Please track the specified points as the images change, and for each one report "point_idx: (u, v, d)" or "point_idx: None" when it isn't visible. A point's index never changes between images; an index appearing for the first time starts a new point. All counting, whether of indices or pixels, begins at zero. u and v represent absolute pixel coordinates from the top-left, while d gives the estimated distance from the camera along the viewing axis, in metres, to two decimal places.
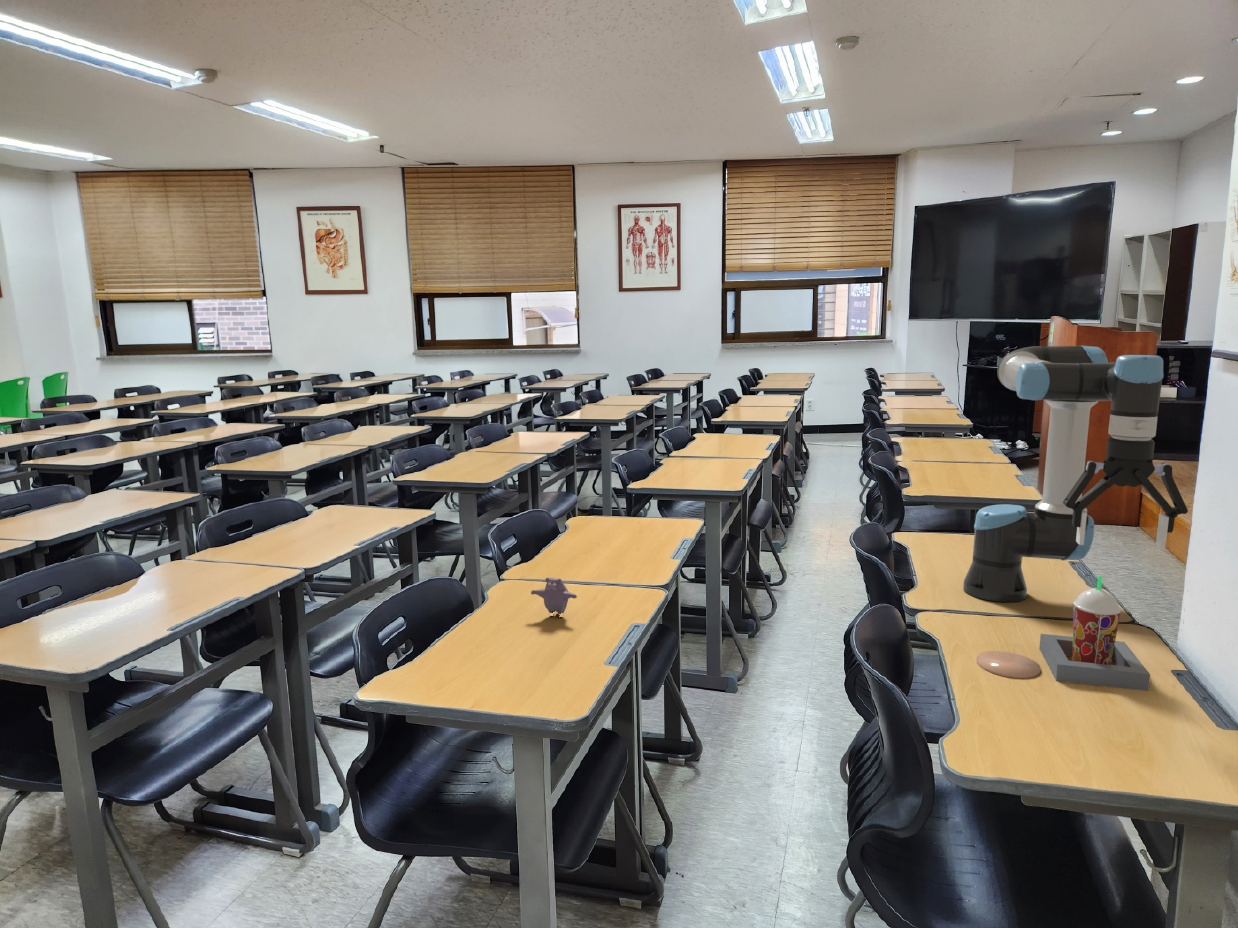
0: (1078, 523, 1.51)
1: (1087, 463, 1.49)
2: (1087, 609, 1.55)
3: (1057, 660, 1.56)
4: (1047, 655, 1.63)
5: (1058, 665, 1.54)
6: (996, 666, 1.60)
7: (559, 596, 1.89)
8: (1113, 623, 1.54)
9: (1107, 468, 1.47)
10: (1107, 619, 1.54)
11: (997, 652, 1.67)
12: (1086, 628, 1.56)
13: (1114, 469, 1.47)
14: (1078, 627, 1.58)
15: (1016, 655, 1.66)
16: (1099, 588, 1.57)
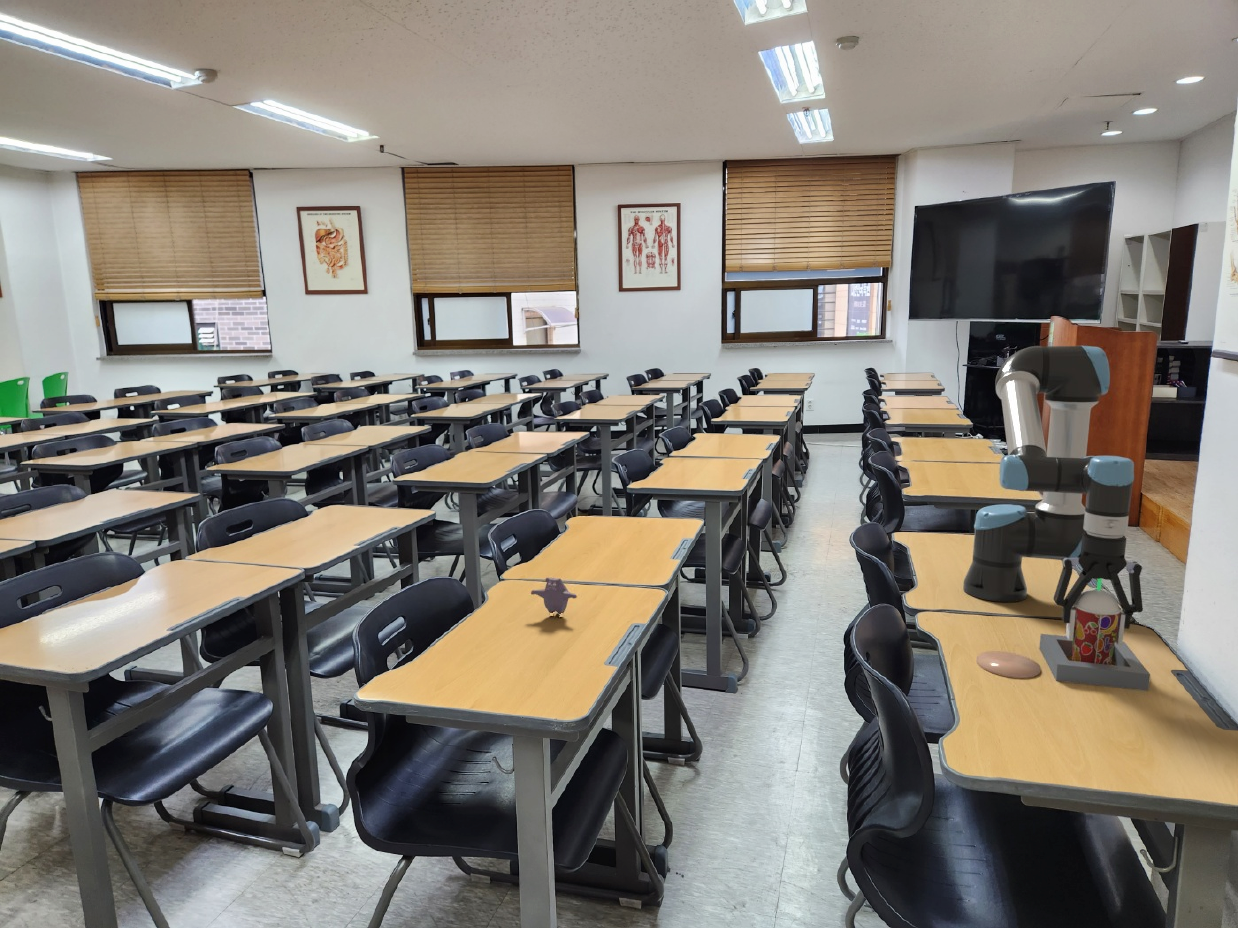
0: (1067, 619, 1.59)
1: (1063, 561, 1.58)
2: (1087, 609, 1.55)
3: (1057, 660, 1.56)
4: (1047, 655, 1.63)
5: (1058, 665, 1.54)
6: (996, 666, 1.60)
7: (559, 596, 1.89)
8: (1113, 623, 1.54)
9: (1082, 562, 1.56)
10: (1107, 619, 1.54)
11: (997, 652, 1.67)
12: (1086, 628, 1.56)
13: (1089, 562, 1.56)
14: (1078, 627, 1.58)
15: (1016, 655, 1.66)
16: (1099, 588, 1.57)
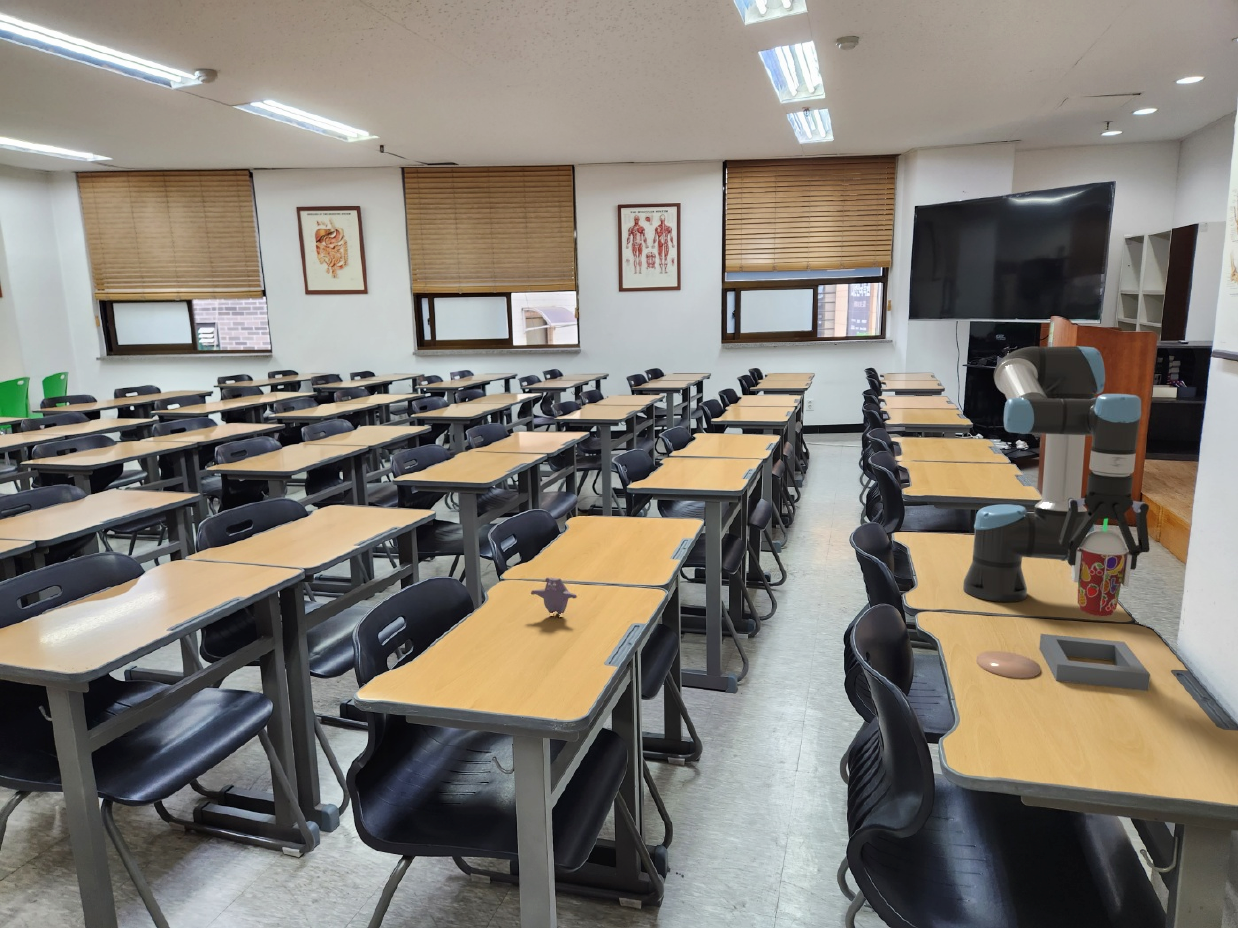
0: (1073, 561, 1.57)
1: (1069, 502, 1.56)
2: (1093, 550, 1.53)
3: (1057, 660, 1.56)
4: (1047, 655, 1.63)
5: (1058, 665, 1.54)
6: (996, 666, 1.60)
7: (559, 596, 1.89)
8: (1119, 563, 1.52)
9: (1088, 502, 1.54)
10: (1113, 559, 1.52)
11: (997, 652, 1.67)
12: (1092, 569, 1.54)
13: (1095, 502, 1.53)
14: (1084, 569, 1.56)
15: (1016, 655, 1.66)
16: (1105, 529, 1.55)
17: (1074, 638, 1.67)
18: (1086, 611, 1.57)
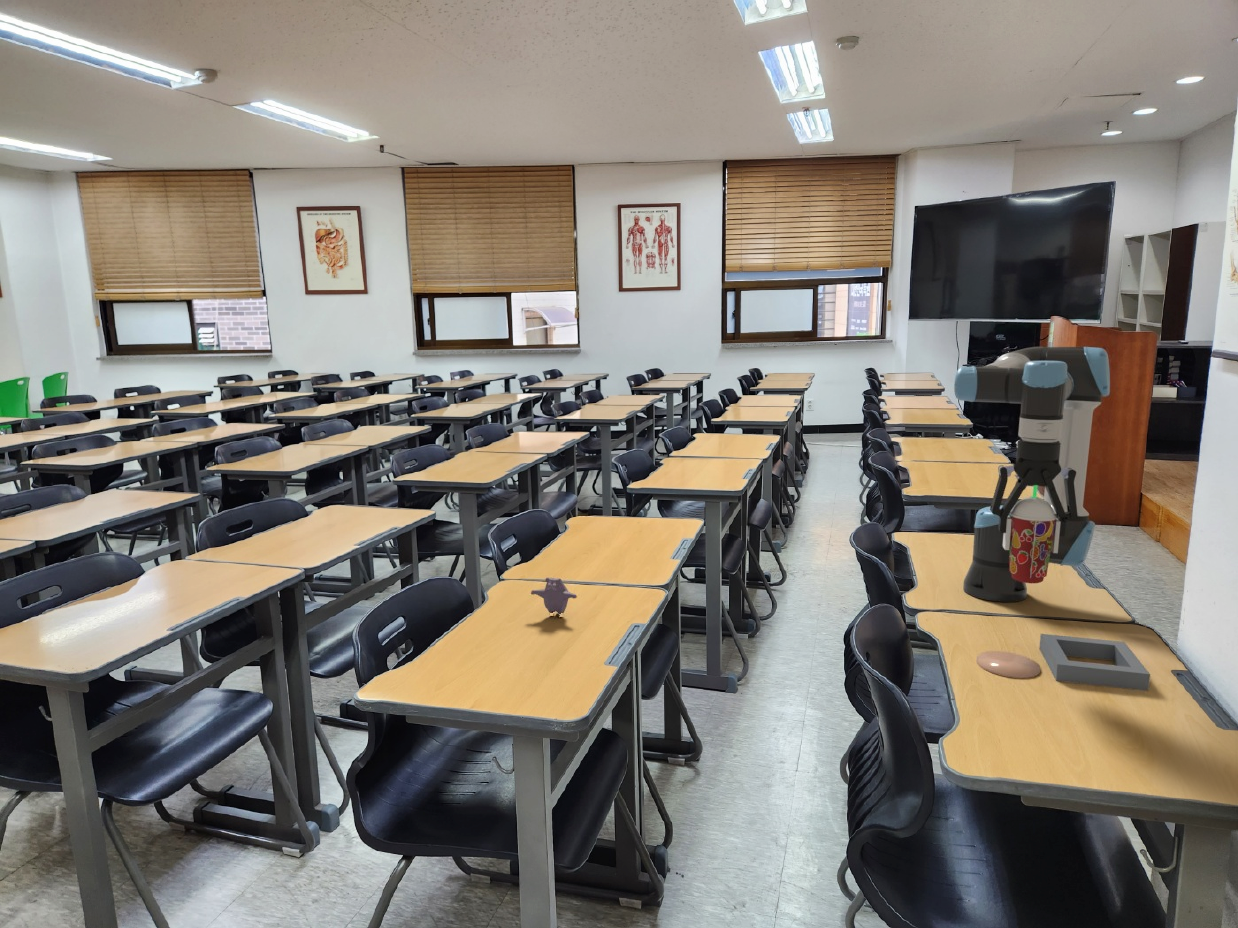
0: (1004, 529, 1.57)
1: (999, 469, 1.56)
2: (1022, 516, 1.53)
3: (1057, 660, 1.56)
4: (1047, 655, 1.63)
5: (1058, 665, 1.54)
6: (996, 666, 1.60)
7: (559, 596, 1.89)
8: (1048, 530, 1.52)
9: (1017, 469, 1.54)
10: (1042, 525, 1.52)
11: (997, 652, 1.67)
12: (1022, 536, 1.54)
13: (1024, 469, 1.54)
14: (1014, 536, 1.56)
15: (1016, 655, 1.66)
16: (1035, 496, 1.55)
17: (1074, 638, 1.67)
18: (1017, 579, 1.57)
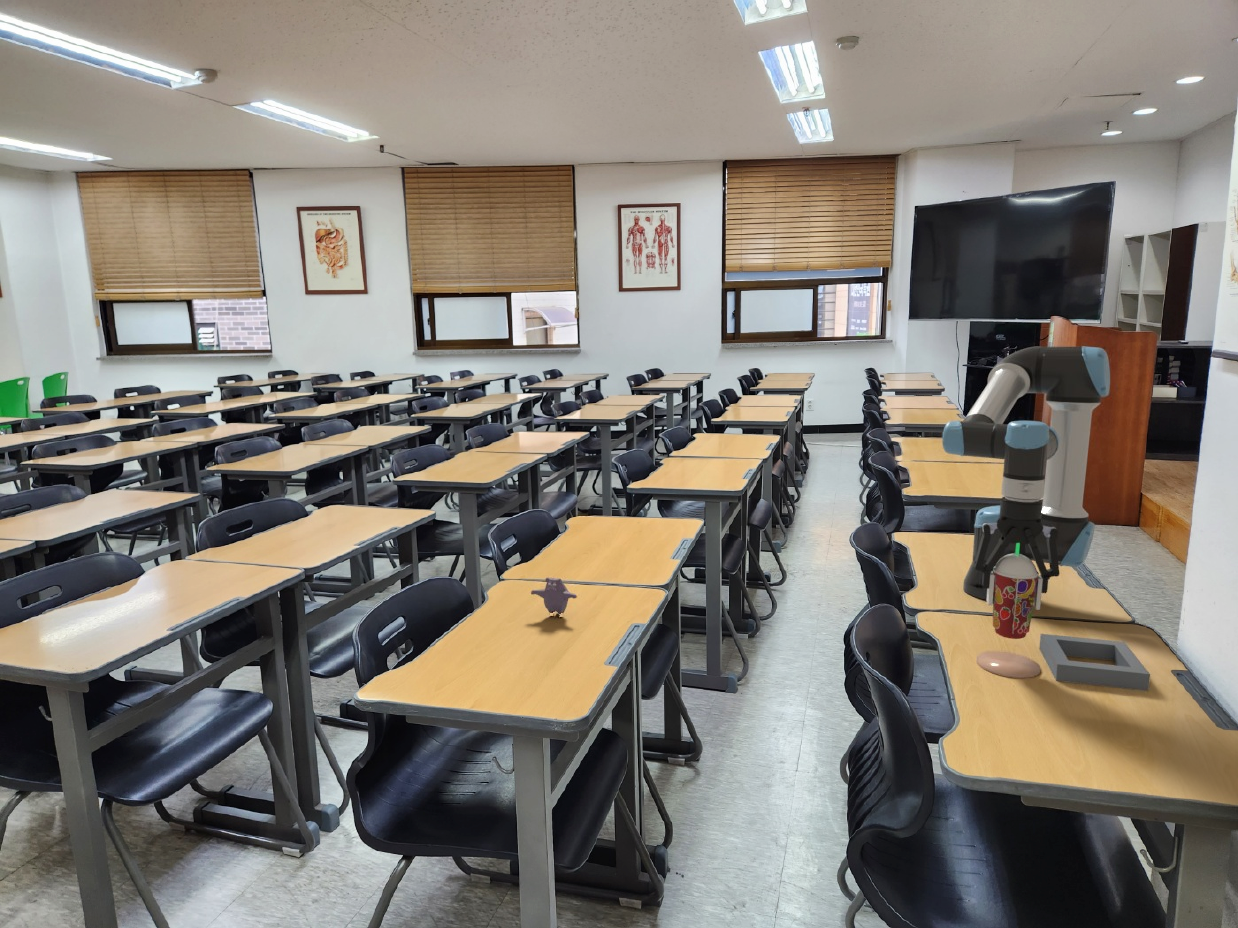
0: (987, 585, 1.60)
1: (982, 526, 1.59)
2: (1005, 573, 1.56)
3: (1057, 660, 1.56)
4: (1047, 655, 1.63)
5: (1058, 665, 1.54)
6: (996, 666, 1.60)
7: (559, 596, 1.89)
8: (1030, 587, 1.55)
9: (1000, 527, 1.57)
10: (1024, 583, 1.55)
11: (997, 652, 1.67)
12: (1004, 592, 1.57)
13: (1007, 526, 1.56)
14: (997, 592, 1.58)
15: (1016, 655, 1.66)
16: (1017, 553, 1.57)
17: (1074, 638, 1.67)
18: (1000, 634, 1.60)
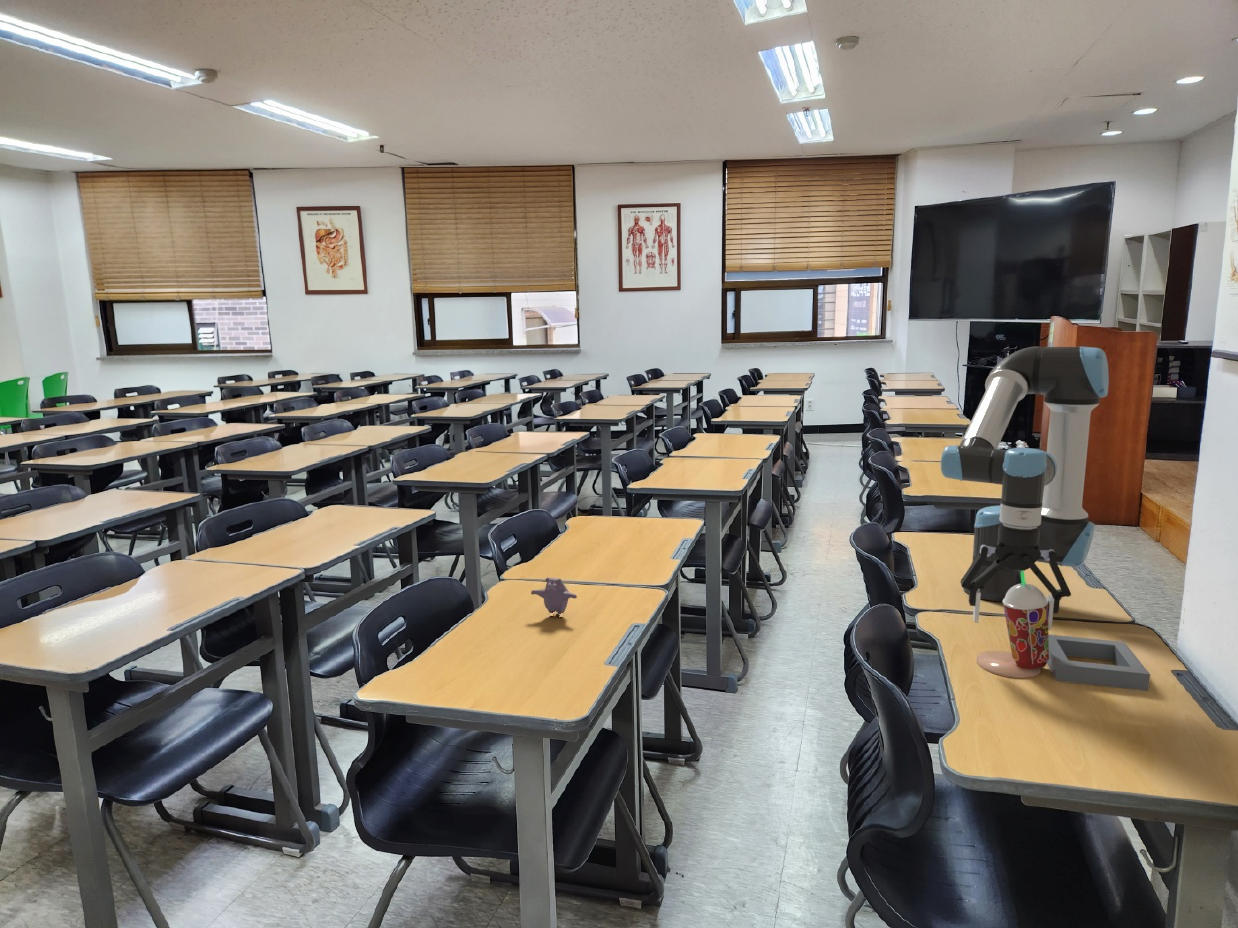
0: (973, 602, 1.61)
1: (981, 547, 1.59)
2: (1014, 606, 1.57)
3: (1057, 660, 1.56)
4: None
5: (1058, 665, 1.54)
6: (996, 666, 1.60)
7: (559, 596, 1.89)
8: (1042, 616, 1.55)
9: (998, 552, 1.58)
10: (1035, 613, 1.55)
11: (997, 652, 1.67)
12: (1017, 624, 1.57)
13: (1004, 554, 1.57)
14: (1010, 624, 1.59)
15: None
16: (1023, 583, 1.58)
17: (1074, 638, 1.67)
18: (1020, 665, 1.60)
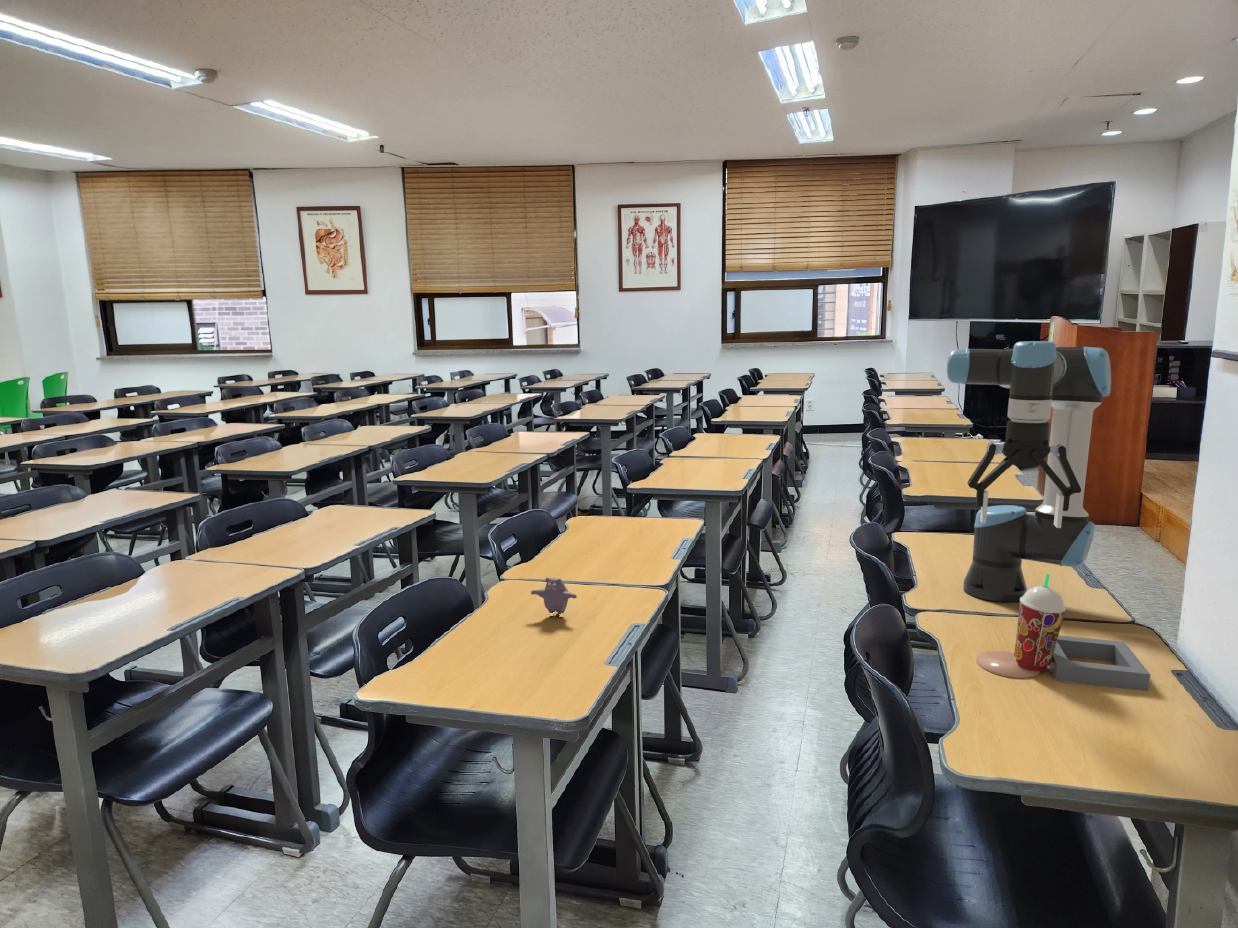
0: (981, 503, 1.57)
1: (988, 445, 1.56)
2: (1032, 606, 1.56)
3: (1057, 660, 1.56)
4: None
5: (1058, 665, 1.54)
6: (996, 666, 1.60)
7: (559, 596, 1.89)
8: (1056, 621, 1.55)
9: (1006, 449, 1.54)
10: (1051, 617, 1.54)
11: (997, 652, 1.67)
12: (1029, 624, 1.56)
13: (1012, 450, 1.54)
14: (1022, 623, 1.58)
15: None
16: (1046, 586, 1.57)
17: (1074, 638, 1.67)
18: (1021, 664, 1.59)
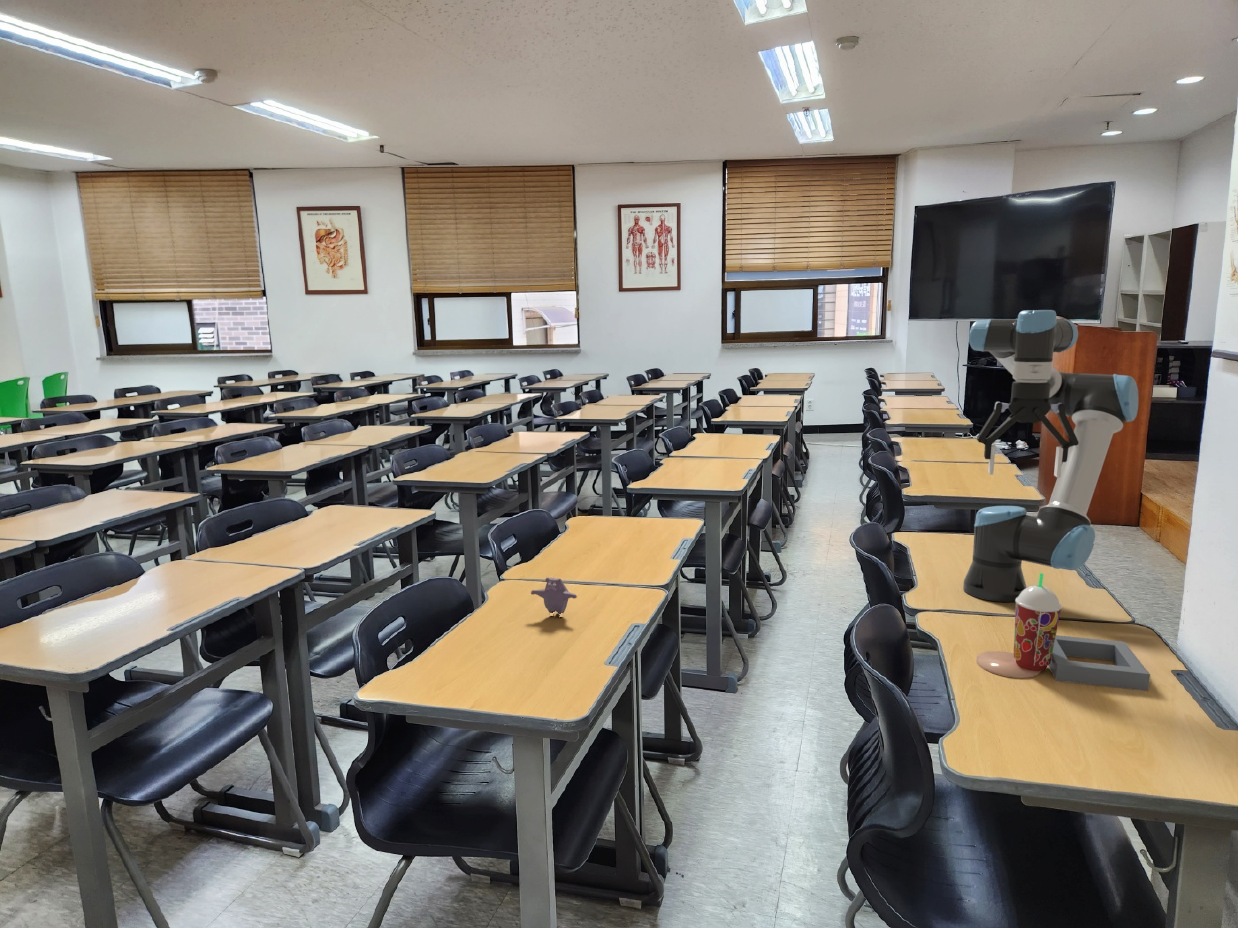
0: (988, 456, 1.76)
1: (995, 404, 1.74)
2: (1027, 606, 1.56)
3: (1057, 660, 1.56)
4: None
5: (1058, 665, 1.54)
6: (996, 666, 1.60)
7: (559, 596, 1.89)
8: (1053, 620, 1.55)
9: (1011, 407, 1.72)
10: (1047, 616, 1.54)
11: (997, 652, 1.67)
12: (1026, 625, 1.57)
13: (1017, 408, 1.72)
14: (1019, 623, 1.58)
15: None
16: (1040, 585, 1.57)
17: (1074, 638, 1.67)
18: (1021, 665, 1.60)
